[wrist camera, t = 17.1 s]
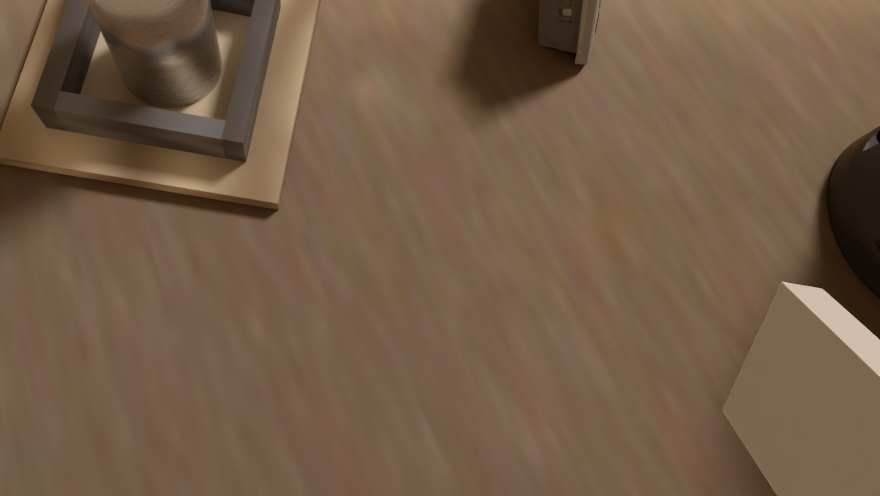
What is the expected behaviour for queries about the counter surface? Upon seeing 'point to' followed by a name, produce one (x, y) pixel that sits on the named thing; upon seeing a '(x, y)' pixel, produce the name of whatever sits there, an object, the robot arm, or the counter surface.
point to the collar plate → (158, 128)
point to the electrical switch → (569, 26)
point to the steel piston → (162, 48)
